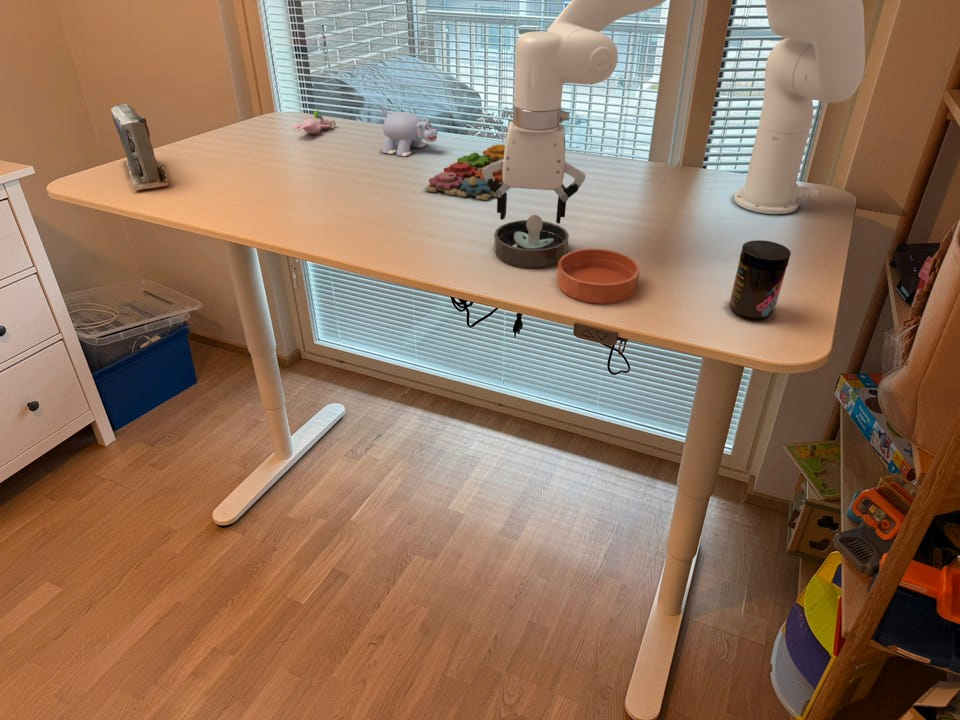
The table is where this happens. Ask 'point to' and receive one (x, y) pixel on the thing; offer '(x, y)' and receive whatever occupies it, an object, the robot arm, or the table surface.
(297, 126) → the rabbit figure
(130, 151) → the radio
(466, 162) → the gear puzzle
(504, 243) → the charcoal bowl
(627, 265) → the terracotta bowl
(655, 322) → the table surface
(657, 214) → the table surface
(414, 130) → the hippopotamus toy
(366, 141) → the table surface
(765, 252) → the supplement container
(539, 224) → the pacifier
